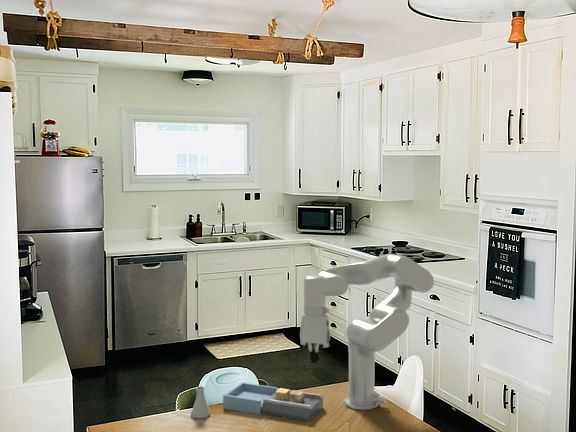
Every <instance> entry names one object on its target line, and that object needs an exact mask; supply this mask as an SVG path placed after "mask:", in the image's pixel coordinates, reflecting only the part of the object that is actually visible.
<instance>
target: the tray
mask: <svg viewBox="0 0 576 432" xmlns="http://www.w3.org/2000/svg"><path fill="white" fill-rule="evenodd" d="M277 388H278V387H276V386H269V385H262V384H256V383H249V382H248V383H247V382H240V383H239V384H238V385H236V386H234V387H233V388H232V389H230V390H229V391H227V392H226V393H225V394H223V396H222V398H223V399H222V401H223V405H222V406H223V409H224V410H230V411H237V412H242V413H248V412H250V414H254V413H255V415H261V413H262V403H263V399H264V398H267V399H268V398H269V397H271V396H272V395H273V394H274V393H275V392H276V389H277Z"/></svg>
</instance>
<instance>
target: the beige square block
mask: <svg viewBox="0 0 576 432" xmlns="http://www.w3.org/2000/svg"><path fill="white" fill-rule="evenodd" d="M304 392H305V391H302V390H296V389H293V390H292V392H291V393H290V394H289V402H293V403H301V402H302V401H303V400H304Z"/></svg>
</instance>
